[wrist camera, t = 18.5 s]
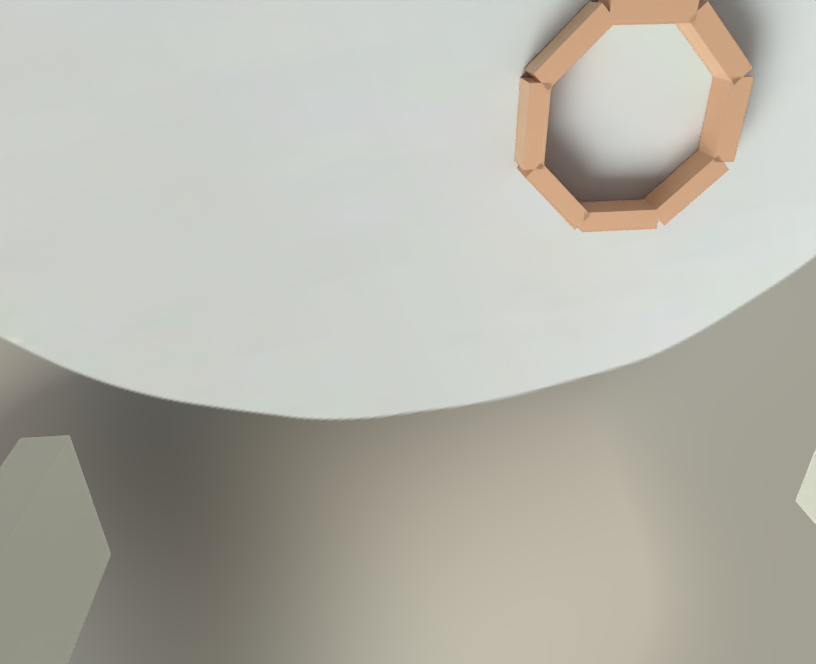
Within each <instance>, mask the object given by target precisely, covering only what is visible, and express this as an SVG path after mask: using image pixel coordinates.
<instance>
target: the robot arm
mask: <svg viewBox="0 0 816 664" xmlns="http://www.w3.org/2000/svg"><path fill="white" fill-rule="evenodd" d="M796 502H797V503H798V504H799V505H800V507H801V508H802V509H803V510H804V511H805V513H806V514H807V515H808V516H809V517H810V518H811V520H812V521H813V522H814V523H815V524H816V449H815V452H814V455H813V457H812V460H811V462H810V465H809V468H808V470H807V473H806V475H805V478H804V480H803V483H802V485H801V488H800V491H799V493H798V496H797V499H796ZM110 555H111V553H110V550H109V547H108V544H107V542H106V539H105V536H104V533H103V530H102V527H101V524H100V522H99V519H98V516H97V513H96V510H95V507H94V505H93V501H92V499H91V496H90V493H89V490H88V487H87V484H86V481H85V479H84V476H83V473H82V470H81V467H80V464H79V461H78V459H77V456H76V453H75V450H74V447H73V445H72V441H71V438H70V436H69V435H65V436H49V437H35V438H21V439H19V441H18V442H17V444H16V445H15V447H14V448H13V449H12V451H11V452H10V454H9V455H8V457H7V458H6V460H5V461H4V463H3V464H2V466H1V467H0V664H68V662H69V659H70V656H71V654H72V652H73V649H74V646H75V644H76V641H77V639H78V636H79V634H80V631H81V628H82V626H83V624H84V621H85V619H86V616H87V614H88V611H89V608H90V606H91V603H92V601H93V598H94V596H95V593H96V591H97V588H98V586H99V583H100V581H101V578H102V576H103V573H104V571H105V568H106V565H107V563H108V560H109V558H110Z"/></svg>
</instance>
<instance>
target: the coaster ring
mask: <svg viewBox="0 0 816 664" xmlns="http://www.w3.org/2000/svg"><path fill="white" fill-rule="evenodd" d="M635 24H676V25H677V26H678V28H679V29H680V30H681V32H682V33H683V35H684V36H685V37H686V39H687V40H688V42H689V43H690V44H691V46H692V47H693V49H694V50H695V51H696V53H697V54H698V56H699V57H700V58H701V60H702V61H703V63H704V64H705V65H706V67H707V68H708V70H709V71H710V72H711V74H712V75H713V81H712V85H711V90H710V95H709V100H708V105H707V109H706V114H705V119H704V124H703V129H702V133H701V138H700V143H699V148H698V150H697V151H696V152H695V153H694V154H693V155H692V156H691V157H690V158H688V159H687V160H686V161H685V162H684V163H683V164H682V165H681V166H679V167H678V168H677V169H676V170H675V171H674V172H673V173H672V174H670V175H669V176H668V177H667V178H666V179H665V180H664V181H663V182H661V183H660V184H659V185H658V186H657V187H656V188H655V189H654V190H652V191H651V192H650V193H649V194H648V195H647V196H646V197H645V198H643V199H636V200H612V201H588V202H578V201H577V200H576V199H575V198H574V197H573V196H572V195H571V193H570V192H569V191H568V190H567V189H566V188H565V187H564V186H563V185H562V184H561V183H560V182H559V180H558V179H557V178H556V177H555V176H554V175H553V174H552V173H551V172H550V171H549V170H548V169H547V168H546V166H545V165H544V161H545V150H546V139H547V128H548V117H549V106H550V95H551V87H552V86H553V85H554V84H555V83H556V82H557V81H558V80H559V79H560V78H561V77H562V76H563V75H564V74H565V73H566V72H567V71H568V70H569V69H570V68H571V67H572V66H573V65H574V64H575V63H576V62H577V61H578V60H579V59H580V58H581V57H582V56H583V55H584V54H585V53H586V52H587V51H588V50H589V49H590V48H591V47H592V46H593V45H594V44H595V43H596V42H597V40H598V39H599V38H600V37H601V36H602V35H603V34H604V33H605V32H606V31H607V30H608V29H609V28H610V27H611V26H612V25H635ZM752 68H753V67H752V66H751V64H750V63H749V61H748V60H747V58H746V57H745V55H744V54H743V52H742V51H741V49H740V48H739V46H738V45H737V43H736V42H735V40H734V39H733V37H732V36H731V34H730V33H729V32H728V30H727V29H726V27H725V26H724V24H723V23H722V21H721V20H720V18H719V17H718V15H717V14H716V12H715V11H714V9H713V8H712V6H711V5H710V3H709V2H708V1H702V0H598V2H590V1H589V2H588V3H587V4H586V5H585V6H584V7H583V8H582V9H581V10H580V11H579V12H578V14H577V15H576V16H575V17H574V18H573V19H572V20H571V21H570V22H569V23H568V24H567V25H566V26H565V27H564V28H563V29H562V30H561V31H560V32H559V33H558V34H557V35H556V36H555V37H554V38H553V39H552V40H551V42H550V43H549V44H548V45H547V46H546V47H545V48H544V49H543V50H542V51H541V52H540V53H539V54H538V55H537V56H536V57H535V58H534V59H533V60H532V61H531V62H530V63H529V64H528V65H527V66H526V67H525V68H524V69H525V70H526V71H527V72H528V74H529V75H530V76H531V77H525V78H520V89H519V104H518V118H517V133H516V147H515V162H516V163H517V164H518V165H519V167H518V170H519V171H520V172H521V173H522V174H523V175H524V176H525V178H526V179H527V180H528V181H529V182H530V183H531V184H532V185H533V186H534V187H535V188H536V189H537V190H538V191H539V192H540V193H541V194H542V195H543V196H544V198H545V199H546V200H547V201H548V202H549V203H550V204H551V205H552V206H553V207H554V208H555V209H556V210H557V211H558V212H559V213H560V214H561V215H562V216H563V217H564V219H565V220H566V221H567V222H568V223H569V224H570V225H571V226H572V227H573V228H574V229H576V228H577V227H578V228H579V229H580V230H581V232H595V231H617V230H639V229H657V223H658V221H660V222H661V223H662V224H663V225H665V224H667V223H668V222H669V221H670V220H671V219H672V218H674V217H675V216H676V215H677V214H678V213H679V212H680V211H682V210H683V209H684V208H685V207H686V206H687V205H689V204H690V203H691V202H692V201H693V200H694V199H696V198H697V197H698V196H699V195H700V194H701V193H702V192H704V191H705V190H706V189H707V188H708V187H709V186H711V185H712V184H713V183H714V182H715V181H716V180H718V179H719V178H720V177H721V176H722V175H723V174H724V173H726V172H727V171H728V170H729V169H728V168H727V167H726V165H725V164H724V163H723V162H734V159H735V155H736V151H737V147H738V142H739V138H740V134H741V130H742V126H743V121H744V117H745V113H746V109H747V105H748V100H749V96H750V92H751V88H752V84H753V79H754V77H753V76H749V75H746V74H747V73H748V72H749V71H750V70H751V69H752Z"/></svg>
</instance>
